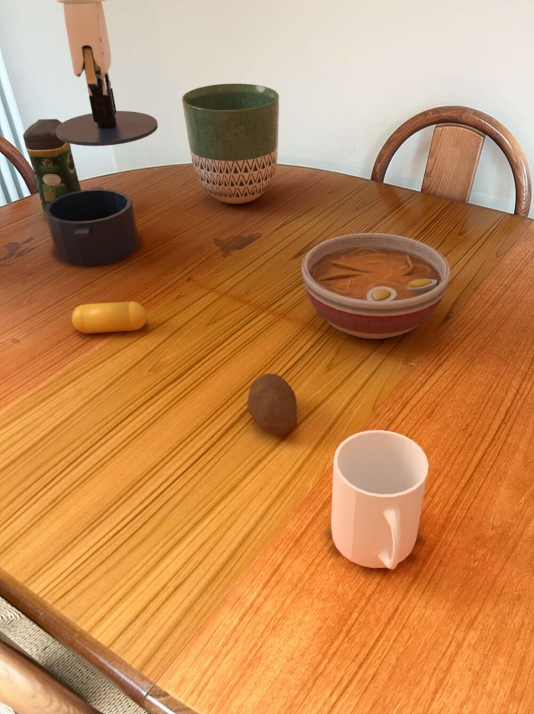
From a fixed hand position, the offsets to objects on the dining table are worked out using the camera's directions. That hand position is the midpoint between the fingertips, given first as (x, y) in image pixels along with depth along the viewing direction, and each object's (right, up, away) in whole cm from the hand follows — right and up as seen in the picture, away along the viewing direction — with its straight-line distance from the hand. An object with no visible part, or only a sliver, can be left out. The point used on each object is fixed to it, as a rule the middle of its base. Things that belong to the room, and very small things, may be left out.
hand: (105, 116), depth 109 cm
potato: (+29, -50, -20) cm, 61 cm away
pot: (-7, -17, +19) cm, 27 cm away
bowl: (+44, -34, -1) cm, 56 cm away
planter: (+18, -2, +37) cm, 41 cm away
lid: (0, -2, +1) cm, 2 cm away
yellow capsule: (+2, -36, -3) cm, 36 cm away
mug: (+41, -63, -36) cm, 83 cm away
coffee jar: (-18, -7, +32) cm, 37 cm away
